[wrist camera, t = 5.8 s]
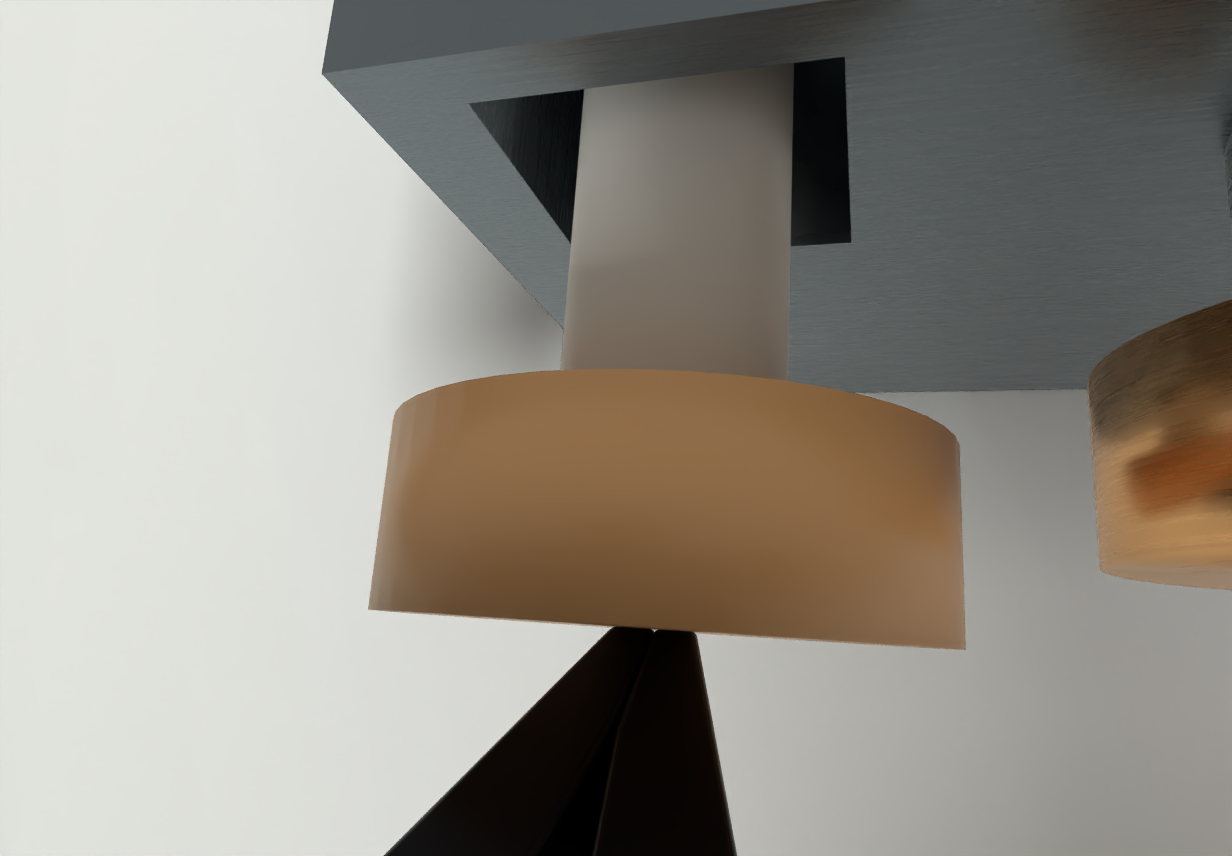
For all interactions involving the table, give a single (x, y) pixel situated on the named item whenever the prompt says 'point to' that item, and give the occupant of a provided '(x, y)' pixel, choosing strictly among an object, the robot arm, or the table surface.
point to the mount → (902, 199)
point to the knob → (677, 420)
